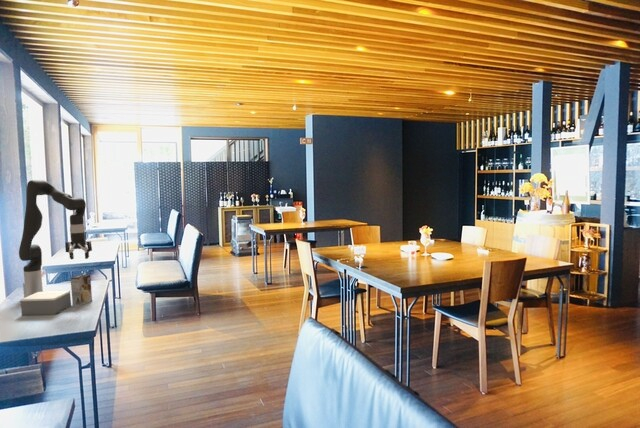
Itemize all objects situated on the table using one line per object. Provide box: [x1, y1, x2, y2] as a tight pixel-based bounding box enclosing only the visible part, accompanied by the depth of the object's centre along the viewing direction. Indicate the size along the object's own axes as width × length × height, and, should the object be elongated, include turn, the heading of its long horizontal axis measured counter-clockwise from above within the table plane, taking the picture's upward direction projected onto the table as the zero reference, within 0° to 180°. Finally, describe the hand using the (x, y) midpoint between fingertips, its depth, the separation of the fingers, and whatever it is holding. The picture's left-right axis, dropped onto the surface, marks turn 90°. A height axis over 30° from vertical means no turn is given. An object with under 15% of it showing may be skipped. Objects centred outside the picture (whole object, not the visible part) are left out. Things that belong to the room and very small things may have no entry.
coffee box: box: [70, 274, 93, 306], centre depth 262 cm, size 9×6×16 cm
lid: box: [20, 290, 71, 302], centre depth 247 cm, size 18×16×1 cm
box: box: [20, 292, 72, 317], centre depth 247 cm, size 18×16×8 cm
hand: (79, 258), depth 261 cm, fingers open, 8 cm apart
